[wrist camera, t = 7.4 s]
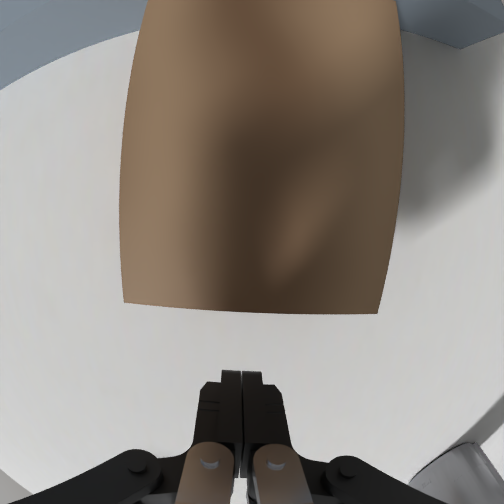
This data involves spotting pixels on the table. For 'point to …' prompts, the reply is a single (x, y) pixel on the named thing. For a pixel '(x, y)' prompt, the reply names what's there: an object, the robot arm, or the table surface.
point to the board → (132, 11)
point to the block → (262, 155)
